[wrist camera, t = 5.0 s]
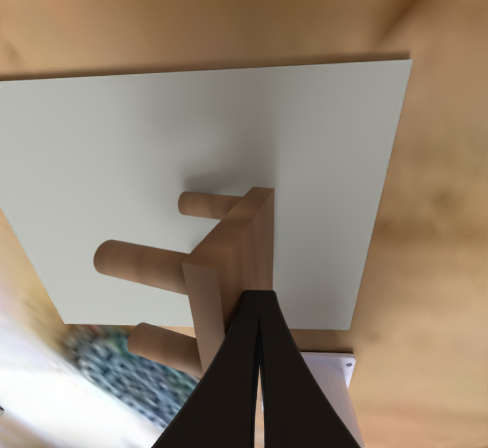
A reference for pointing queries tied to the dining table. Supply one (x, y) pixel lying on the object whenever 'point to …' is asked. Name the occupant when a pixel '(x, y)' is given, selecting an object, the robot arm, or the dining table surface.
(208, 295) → the stool
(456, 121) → the dining table surface
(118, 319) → the mat
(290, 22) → the dining table surface
